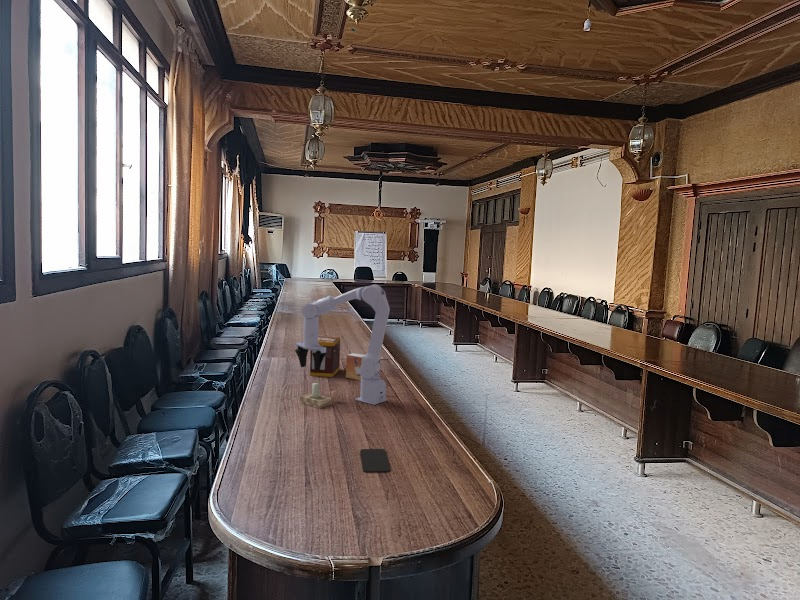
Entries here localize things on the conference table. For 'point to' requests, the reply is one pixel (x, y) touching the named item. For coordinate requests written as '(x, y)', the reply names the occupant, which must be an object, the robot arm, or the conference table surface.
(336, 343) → the supplement box
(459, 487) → the conference table surface
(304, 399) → the hole plate
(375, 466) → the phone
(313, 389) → the long pin
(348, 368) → the small box
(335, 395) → the short pin
